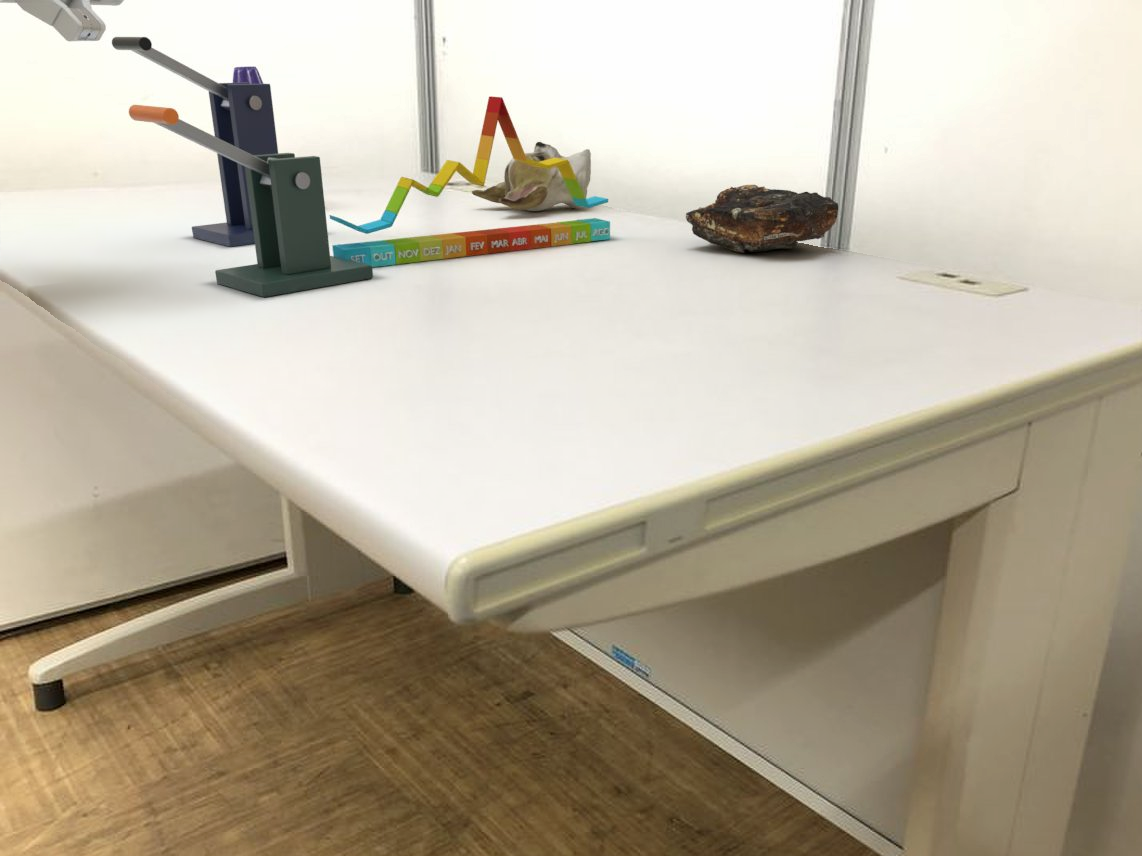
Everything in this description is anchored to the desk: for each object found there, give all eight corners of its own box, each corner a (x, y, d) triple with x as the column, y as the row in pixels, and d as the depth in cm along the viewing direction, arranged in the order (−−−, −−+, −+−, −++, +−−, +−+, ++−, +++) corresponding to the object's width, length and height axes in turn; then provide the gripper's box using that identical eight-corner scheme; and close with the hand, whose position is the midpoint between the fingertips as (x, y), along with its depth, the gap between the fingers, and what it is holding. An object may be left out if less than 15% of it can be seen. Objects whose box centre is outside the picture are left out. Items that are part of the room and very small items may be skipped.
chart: (347, 270, 100) (330, 101, 94) (334, 265, 102) (317, 100, 96) (611, 239, 116) (611, 95, 111) (595, 235, 119) (593, 93, 113)
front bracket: (264, 297, 89) (246, 164, 85) (216, 283, 94) (198, 157, 90) (373, 278, 97) (362, 155, 93) (324, 266, 102) (312, 149, 97)
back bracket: (230, 246, 111) (207, 85, 105) (193, 237, 116) (169, 83, 110) (322, 234, 118) (306, 83, 112) (283, 226, 123) (266, 81, 117)
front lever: (159, 127, 80) (169, 97, 80) (123, 123, 84) (133, 94, 84) (312, 200, 91) (321, 174, 91) (275, 194, 95) (283, 168, 95)
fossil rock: (855, 245, 114) (859, 189, 112) (791, 265, 104) (794, 204, 102) (746, 232, 122) (748, 180, 120) (676, 250, 112) (677, 193, 110)
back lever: (135, 52, 100) (143, 28, 100) (108, 51, 104) (115, 28, 104) (263, 120, 111) (271, 98, 111) (234, 117, 115) (241, 96, 115)
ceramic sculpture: (608, 139, 132) (496, 151, 125) (612, 210, 135) (503, 225, 129) (570, 133, 141) (464, 145, 134) (575, 200, 144) (472, 214, 138)
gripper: (-165, -166, 68) (-5, -1, 70) (70, -126, 86) (194, 4, 88) (-197, -86, 71) (-42, 71, 72) (38, -63, 89) (158, 62, 91)
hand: (89, 35), depth 80 cm, fingers closed
